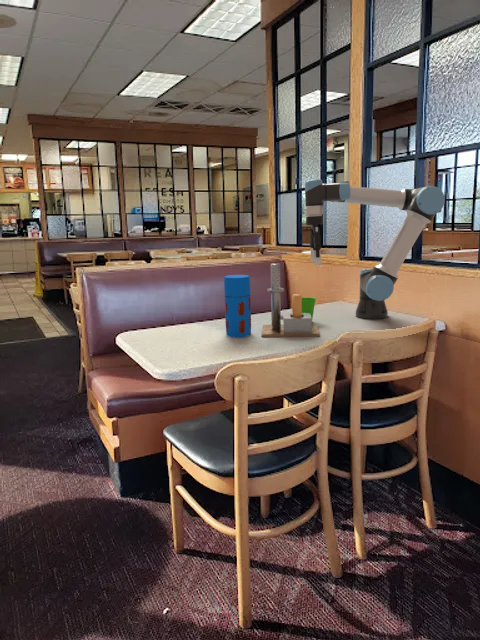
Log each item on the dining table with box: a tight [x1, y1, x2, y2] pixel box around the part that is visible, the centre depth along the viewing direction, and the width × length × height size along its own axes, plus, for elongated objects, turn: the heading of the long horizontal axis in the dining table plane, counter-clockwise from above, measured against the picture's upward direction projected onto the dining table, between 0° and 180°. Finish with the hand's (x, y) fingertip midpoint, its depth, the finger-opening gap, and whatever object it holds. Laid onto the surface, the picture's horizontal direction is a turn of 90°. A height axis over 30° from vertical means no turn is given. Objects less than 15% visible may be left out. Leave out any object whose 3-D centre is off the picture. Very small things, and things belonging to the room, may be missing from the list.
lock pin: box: [291, 293, 303, 317], centre depth 208 cm, size 4×4×15 cm
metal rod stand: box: [261, 263, 321, 338], centre depth 208 cm, size 24×18×29 cm
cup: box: [302, 296, 317, 319], centre depth 228 cm, size 9×9×11 cm
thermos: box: [223, 274, 252, 338], centre depth 206 cm, size 11×11×25 cm
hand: (315, 263), depth 221 cm, fingers open, 13 cm apart
